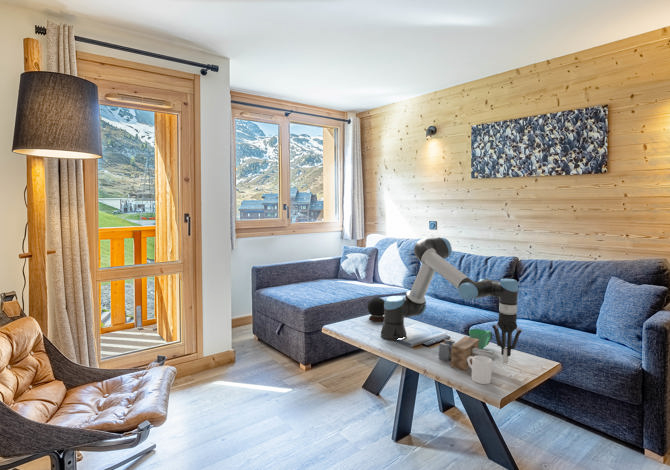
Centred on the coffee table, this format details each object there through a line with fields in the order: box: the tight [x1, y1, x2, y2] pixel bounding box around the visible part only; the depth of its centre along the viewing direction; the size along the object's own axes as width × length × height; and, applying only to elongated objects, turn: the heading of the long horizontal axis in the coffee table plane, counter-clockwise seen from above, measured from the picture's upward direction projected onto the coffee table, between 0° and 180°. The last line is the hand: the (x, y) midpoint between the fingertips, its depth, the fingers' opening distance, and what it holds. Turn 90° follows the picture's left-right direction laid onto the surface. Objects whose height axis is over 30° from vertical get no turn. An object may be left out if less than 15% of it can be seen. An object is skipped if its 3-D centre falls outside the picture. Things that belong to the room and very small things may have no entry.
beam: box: [450, 335, 479, 372], centre depth 194 cm, size 7×18×10 cm, turn 142°
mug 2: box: [467, 356, 493, 385], centre depth 177 cm, size 8×12×10 cm
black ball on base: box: [367, 297, 385, 323], centre depth 266 cm, size 13×13×15 cm
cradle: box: [438, 339, 456, 362], centre depth 200 cm, size 5×8×8 cm, turn 141°
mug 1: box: [468, 328, 493, 350], centre depth 213 cm, size 15×10×10 cm
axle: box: [451, 342, 496, 361], centre depth 192 cm, size 20×4×4 cm, turn 52°
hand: (505, 362), depth 182 cm, fingers closed
